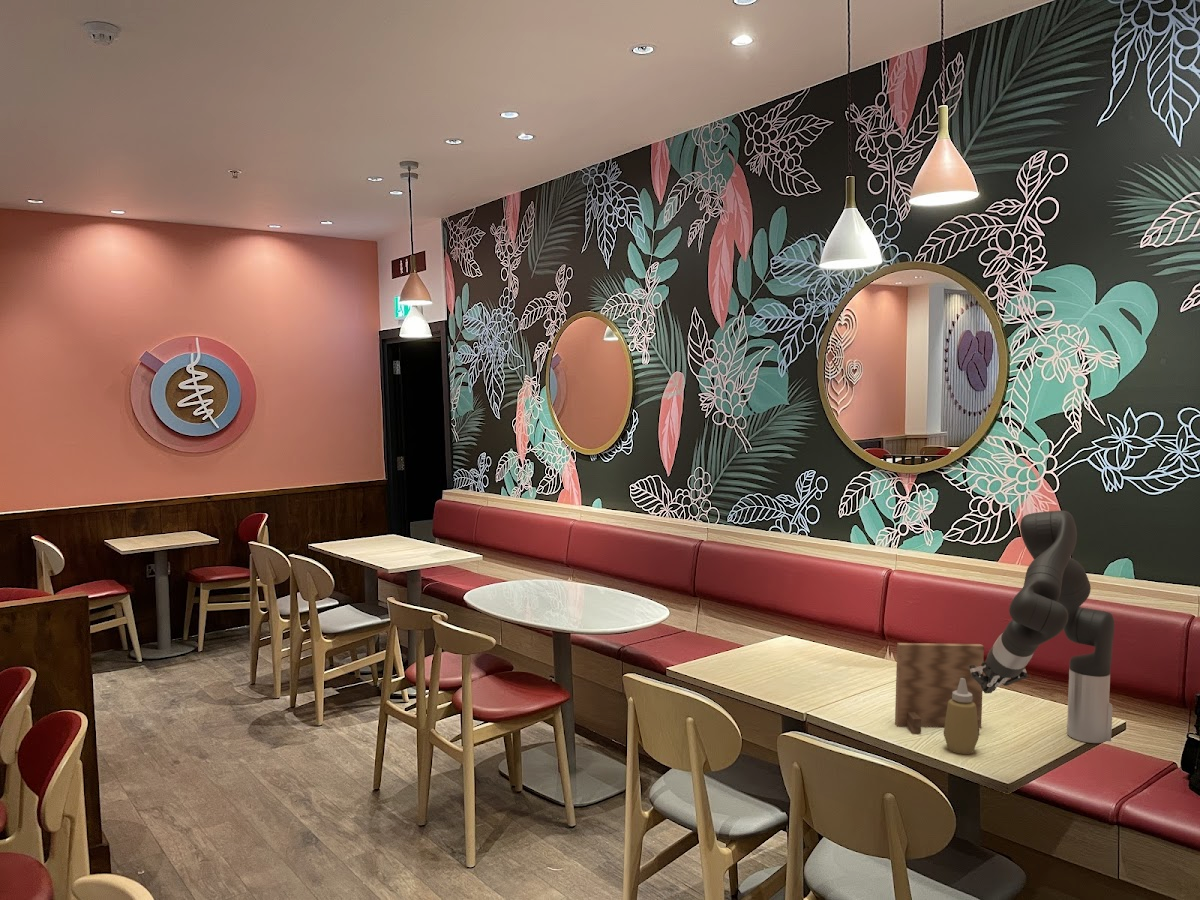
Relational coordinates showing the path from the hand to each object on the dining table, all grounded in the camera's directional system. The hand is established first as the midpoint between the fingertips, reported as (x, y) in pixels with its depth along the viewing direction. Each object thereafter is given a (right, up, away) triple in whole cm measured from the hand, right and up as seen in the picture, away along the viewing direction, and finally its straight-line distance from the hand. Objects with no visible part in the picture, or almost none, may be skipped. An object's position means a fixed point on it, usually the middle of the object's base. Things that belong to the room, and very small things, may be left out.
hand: (986, 689), depth 206 cm
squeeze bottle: (0, -19, +15) cm, 24 cm away
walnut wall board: (0, -18, +28) cm, 34 cm away
